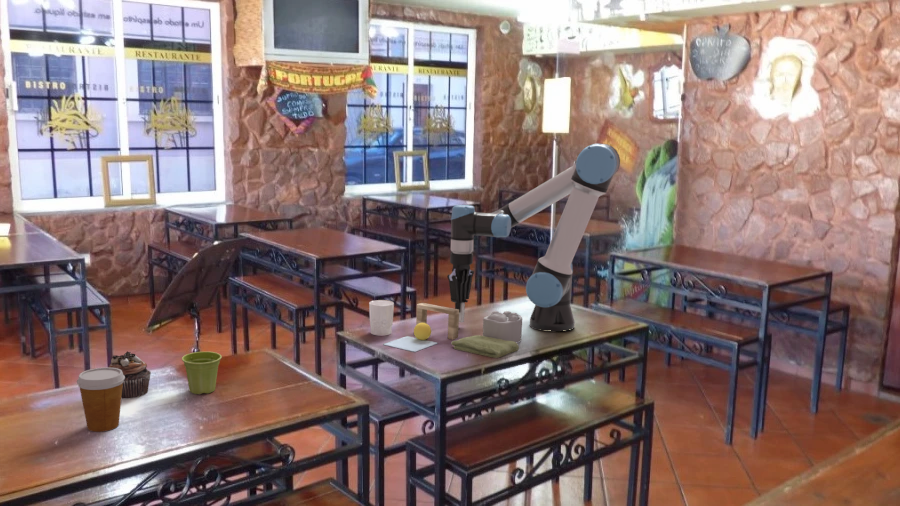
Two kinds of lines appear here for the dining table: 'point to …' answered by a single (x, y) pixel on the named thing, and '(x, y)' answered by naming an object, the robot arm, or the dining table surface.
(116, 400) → the disposable coffee cup
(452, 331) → the bridge
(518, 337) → the grey filled box
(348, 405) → the dining table surface
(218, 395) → the dining table surface
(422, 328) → the ball
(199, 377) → the plant pot
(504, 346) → the washcloth
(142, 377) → the cupcake
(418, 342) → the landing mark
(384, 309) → the white cup
